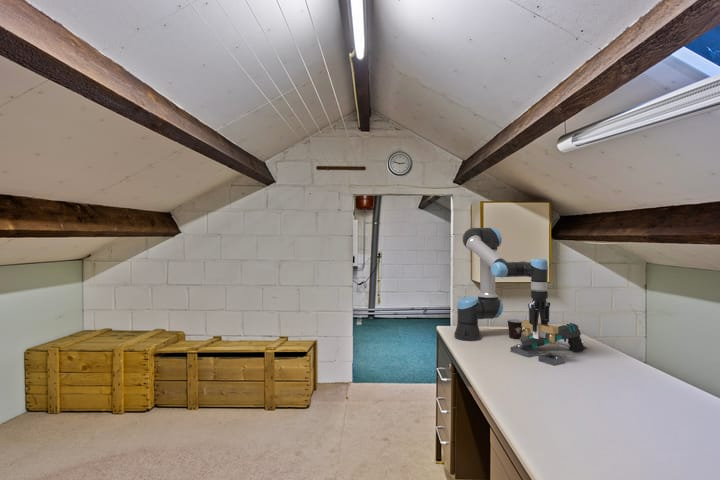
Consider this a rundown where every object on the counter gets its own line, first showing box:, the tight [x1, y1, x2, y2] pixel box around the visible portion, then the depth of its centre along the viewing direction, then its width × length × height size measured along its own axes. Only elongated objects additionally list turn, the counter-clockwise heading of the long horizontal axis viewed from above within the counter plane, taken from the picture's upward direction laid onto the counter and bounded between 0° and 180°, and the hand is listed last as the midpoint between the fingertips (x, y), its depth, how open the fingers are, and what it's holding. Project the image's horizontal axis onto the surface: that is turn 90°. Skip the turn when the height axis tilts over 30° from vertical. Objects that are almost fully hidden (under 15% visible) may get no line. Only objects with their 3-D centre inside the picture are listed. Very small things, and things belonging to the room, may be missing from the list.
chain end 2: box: [537, 353, 565, 366], centre depth 194 cm, size 8×8×3 cm
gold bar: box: [522, 319, 559, 345], centre depth 200 cm, size 18×4×8 cm, turn 27°
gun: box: [519, 322, 585, 353], centre depth 214 cm, size 7×29×15 cm, turn 85°
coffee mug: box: [507, 318, 525, 340], centre depth 239 cm, size 12×9×10 cm
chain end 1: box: [509, 343, 540, 358], centre depth 208 cm, size 11×8×4 cm
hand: (539, 337), depth 200 cm, fingers closed on gold bar, 4 cm apart
